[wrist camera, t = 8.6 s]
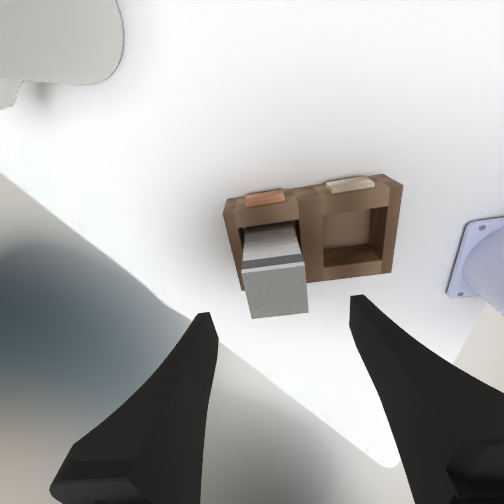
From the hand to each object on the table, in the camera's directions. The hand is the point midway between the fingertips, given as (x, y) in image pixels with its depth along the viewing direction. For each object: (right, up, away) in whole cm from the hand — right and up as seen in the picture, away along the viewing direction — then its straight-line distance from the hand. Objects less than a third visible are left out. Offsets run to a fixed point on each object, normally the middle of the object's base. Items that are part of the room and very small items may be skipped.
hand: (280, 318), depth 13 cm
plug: (0, +5, +8) cm, 10 cm away
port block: (+3, +5, +8) cm, 10 cm away
